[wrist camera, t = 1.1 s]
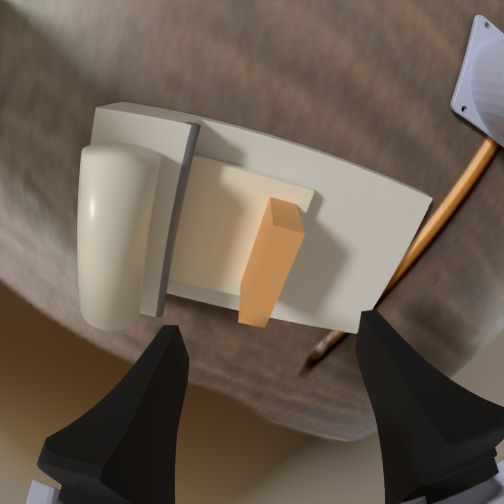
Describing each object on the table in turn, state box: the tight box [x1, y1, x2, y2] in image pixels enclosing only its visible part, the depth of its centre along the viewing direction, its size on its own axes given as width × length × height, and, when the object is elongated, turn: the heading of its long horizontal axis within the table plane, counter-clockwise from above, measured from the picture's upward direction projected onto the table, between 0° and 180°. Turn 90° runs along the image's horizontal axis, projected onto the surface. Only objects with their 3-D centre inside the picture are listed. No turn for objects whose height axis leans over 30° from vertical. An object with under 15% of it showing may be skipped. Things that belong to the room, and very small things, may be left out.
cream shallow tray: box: [169, 155, 314, 328], centre depth 17 cm, size 12×8×4 cm, turn 74°
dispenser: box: [77, 102, 433, 334], centre depth 17 cm, size 20×12×7 cm, turn 74°
